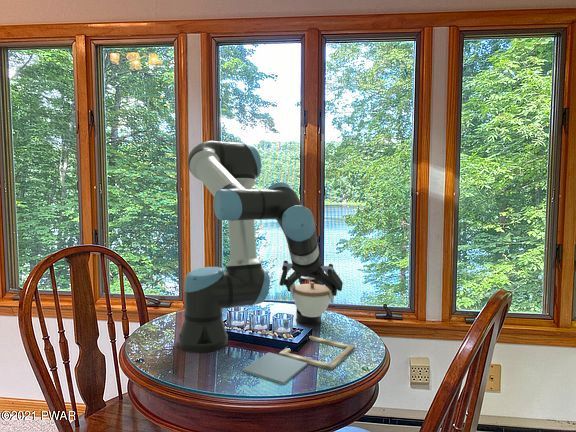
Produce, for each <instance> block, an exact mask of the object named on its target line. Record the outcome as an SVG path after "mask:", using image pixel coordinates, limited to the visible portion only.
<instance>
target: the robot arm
mask: <svg viewBox="0 0 576 432" xmlns="http://www.w3.org/2000/svg"><path fill="white" fill-rule="evenodd" d="M260 154H261V153H260V151H259V150H258V148H257V147H256V146H255V145H253V144H252V143H245V142H241V141H240V142H231V141H218V140H217V141H216V140H208V141H207V140H206V141H204V142H200V143H199V144H197V145H196V146H194V147H193V148H192V149H191V151H190V152H189V154H188V156H187V168H188V171H189V172H190V174H191V175H192V176H193V177H194V178H196V179H197V180H199V181H201V182H202V183H203V185H204V186H205V187H206V188H207V190H208V191H209V192H210V194H211V195H212V196H213V201H212V202H213V203H212V204H213V207H212V208H213V212H214V215H215V217H216V218H217V219H218V220H220V221H227V224H228V240H229V243H228V245H229V257H230V259H229V262H228V263H227V264H226V265H225V266H226V268H225V269H226V271H225V270H223V268H222V267H220V266H206V267H205V266H204V267H200V268H197V269H193V270H191V271H189V272H188V273H187V274H186V275H185V279H184V288H183V291H184V320H183V324H182V326H181V330H180V333H179V336H178V347H179V348H180V349H181V350H183V351H186V352H189V353H197V354H199V353H210V352H215V351H218V350H221V349H223V348H225V347H226V346H227V344H228V342H229V338H228V337H229V335H228V332H227V330H226V326H225V322H224V320H223V310H224V309H230V308H231V309H232V308H238V307H246V306H249V307H252V306H254V305H259V304H262V303H263V302H265V301H266V299H267V297H268V294H269V291H270V275H269V271H268V269H266V268H264V267H263V266H262V262H261V261H260V259H258V258H257V246H256V245H257V244H256V227H255V220H259V221H260V220H261V221H262V220H276V221H277V223H278V225H279V226H280V228H281V230H282V232H283V234H284V236H285V240H286V243H287V244H286V245H287V246H288V247H287V248H288V252H289V256H290V260H291V263H290V262H289V261H288V260H284V261H283V264H282V266H281V267H282V268H281V269H282V273H281V276H280V278H279V279H280V280H279V286H281V287H284V286H285V287H286V290H287V292H290V293H291V297H292V300H294V287H295V286H296V284H295V282H297V280H299V278H300V277H301V276H303V277H312V278H314V279H316V280H317V281H318V280H319V281H320V282H321V283H320V284H322V285H324V286H326V287H328V288H329V296H330V300H329V304H334V301H335V297H337V294H338V291H339V292H342V291H343V283H344V282H343V281H342V279H341V278H340V276H339V275H338V274H337V272H336V271H335V269H334V264H332V263H329V264H328V265H323V264H322V263H321V262H322V261H321V255H320V248H319V244H318V239H317V238H318V237H317V231H316V230H317V229H316V221H315V218H314V215H313V213H312V210H311V209H310V208H308V207H305V206H304V205H303V204H302V202H301V200H300V198H299V197H298V194H297V192H296V191H295V189H293V187H292V186H291V185H290V183H288V182H284V181H277V182H276V183H273V184H271V185H269V187H268V188H267V189H253V186H254V185H255V184H256V183H257V178H258V177H260V175H261V173H262V168H263V167H262V165H263V164H262V163H263V162H262V157H261V155H260ZM291 269H292V270H293V272H292V273H291V274H290V275H289V276H287V275H288V272H289V271H290V270H291Z"/></svg>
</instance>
